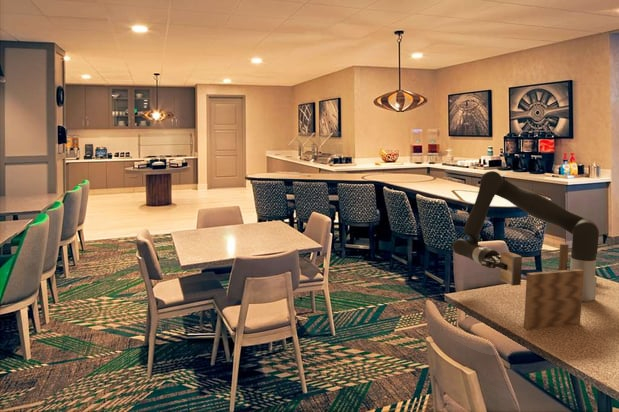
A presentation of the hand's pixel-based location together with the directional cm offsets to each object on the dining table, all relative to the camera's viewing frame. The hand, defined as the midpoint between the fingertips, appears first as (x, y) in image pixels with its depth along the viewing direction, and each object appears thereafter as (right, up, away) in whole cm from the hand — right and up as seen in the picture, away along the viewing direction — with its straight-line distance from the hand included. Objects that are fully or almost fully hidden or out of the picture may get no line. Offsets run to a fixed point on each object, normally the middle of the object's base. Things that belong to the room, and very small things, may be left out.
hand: (511, 267), depth 189 cm
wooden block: (+44, -13, +42) cm, 62 cm away
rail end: (0, -6, +1) cm, 6 cm away
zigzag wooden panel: (+11, -20, -7) cm, 23 cm away
